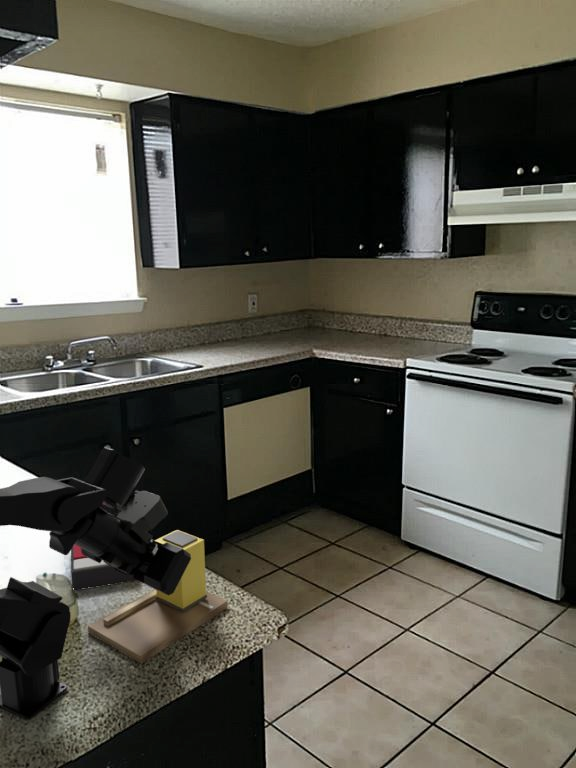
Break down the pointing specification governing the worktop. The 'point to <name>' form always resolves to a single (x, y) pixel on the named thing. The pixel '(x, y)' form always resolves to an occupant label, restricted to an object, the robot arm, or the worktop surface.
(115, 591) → the worktop surface
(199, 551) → the yellow pillar grey top
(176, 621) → the subfloor panel
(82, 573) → the red and grey box
